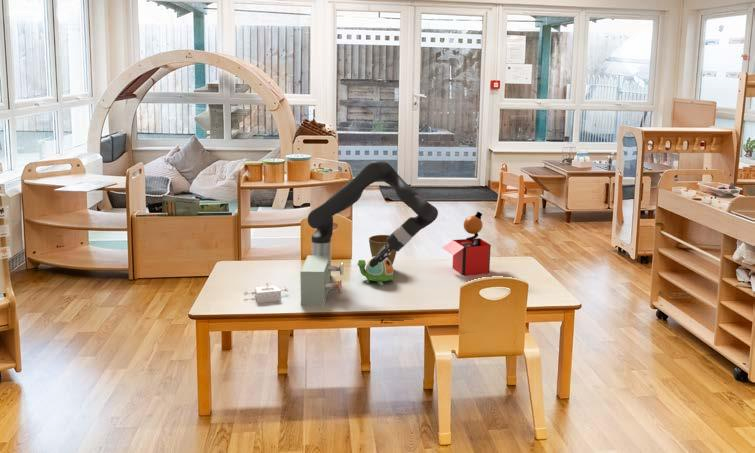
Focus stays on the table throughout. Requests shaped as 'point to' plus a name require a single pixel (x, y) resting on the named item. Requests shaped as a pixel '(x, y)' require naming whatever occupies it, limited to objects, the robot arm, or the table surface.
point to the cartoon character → (267, 293)
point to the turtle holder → (377, 271)
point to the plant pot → (380, 246)
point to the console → (315, 280)
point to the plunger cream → (337, 268)
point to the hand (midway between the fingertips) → (371, 264)
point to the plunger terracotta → (334, 286)
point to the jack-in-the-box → (470, 250)
